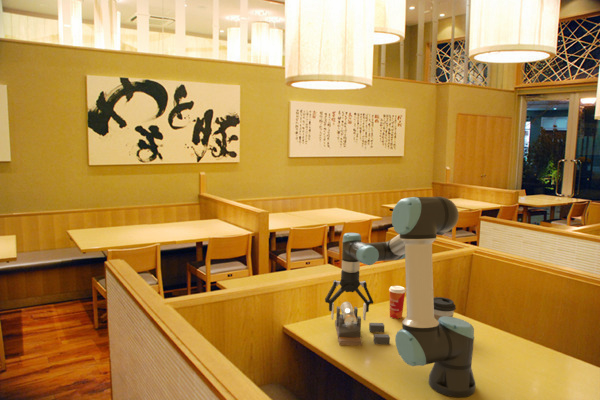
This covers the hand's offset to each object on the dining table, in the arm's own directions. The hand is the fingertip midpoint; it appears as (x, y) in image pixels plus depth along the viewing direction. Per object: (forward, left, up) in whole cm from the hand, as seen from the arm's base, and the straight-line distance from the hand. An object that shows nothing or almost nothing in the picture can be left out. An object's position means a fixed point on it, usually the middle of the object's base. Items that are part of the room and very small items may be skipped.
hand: (348, 318), depth 202 cm
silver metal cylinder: (0, 0, -1) cm, 1 cm away
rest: (-2, -13, -7) cm, 15 cm away
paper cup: (+21, -25, -7) cm, 33 cm away
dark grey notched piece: (0, 0, -7) cm, 7 cm away
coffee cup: (+2, -40, -7) cm, 41 cm away
